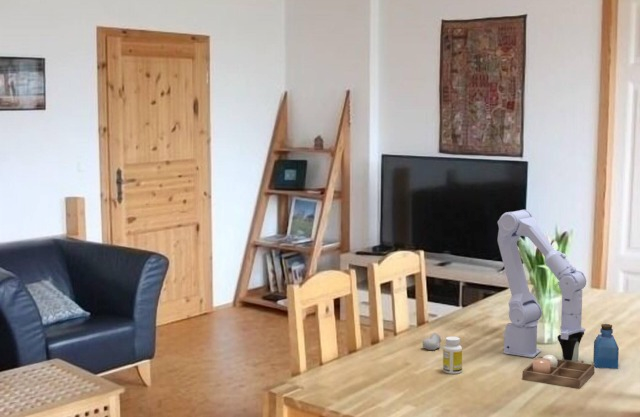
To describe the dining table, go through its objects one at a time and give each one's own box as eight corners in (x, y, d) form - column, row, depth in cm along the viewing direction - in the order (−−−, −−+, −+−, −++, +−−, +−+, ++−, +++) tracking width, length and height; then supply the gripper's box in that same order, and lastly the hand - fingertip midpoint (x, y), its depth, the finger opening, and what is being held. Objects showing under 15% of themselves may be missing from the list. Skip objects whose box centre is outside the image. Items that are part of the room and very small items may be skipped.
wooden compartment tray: (522, 379, 240) (522, 370, 239) (539, 364, 253) (539, 356, 253) (579, 388, 231) (579, 379, 231) (594, 372, 245) (594, 364, 244)
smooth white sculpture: (432, 355, 267) (418, 348, 270) (444, 349, 274) (430, 342, 276) (436, 343, 266) (422, 336, 268) (448, 337, 272) (434, 330, 275)
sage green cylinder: (560, 364, 253) (560, 342, 252) (564, 360, 257) (565, 339, 256) (575, 366, 251) (576, 344, 250) (580, 362, 255) (580, 341, 254)
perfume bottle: (618, 368, 248) (619, 328, 247) (595, 367, 250) (596, 327, 248) (615, 362, 254) (616, 323, 253) (593, 361, 256) (594, 322, 254)
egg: (539, 371, 247) (539, 355, 246) (543, 367, 251) (544, 351, 250) (554, 373, 244) (555, 358, 244) (559, 369, 248) (560, 354, 248)
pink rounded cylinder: (530, 378, 240) (530, 361, 240) (535, 374, 244) (535, 357, 244) (547, 381, 238) (547, 363, 237) (552, 376, 242) (552, 359, 241)
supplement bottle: (463, 369, 249) (463, 336, 248) (460, 375, 244) (460, 341, 243) (444, 367, 251) (445, 335, 249) (441, 373, 246) (441, 339, 244)
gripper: (578, 319, 244) (577, 366, 245) (591, 309, 256) (590, 353, 258) (554, 316, 247) (552, 362, 249) (568, 306, 260) (566, 350, 261)
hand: (570, 357), depth 254 cm, fingers closed on sage green cylinder, 5 cm apart
